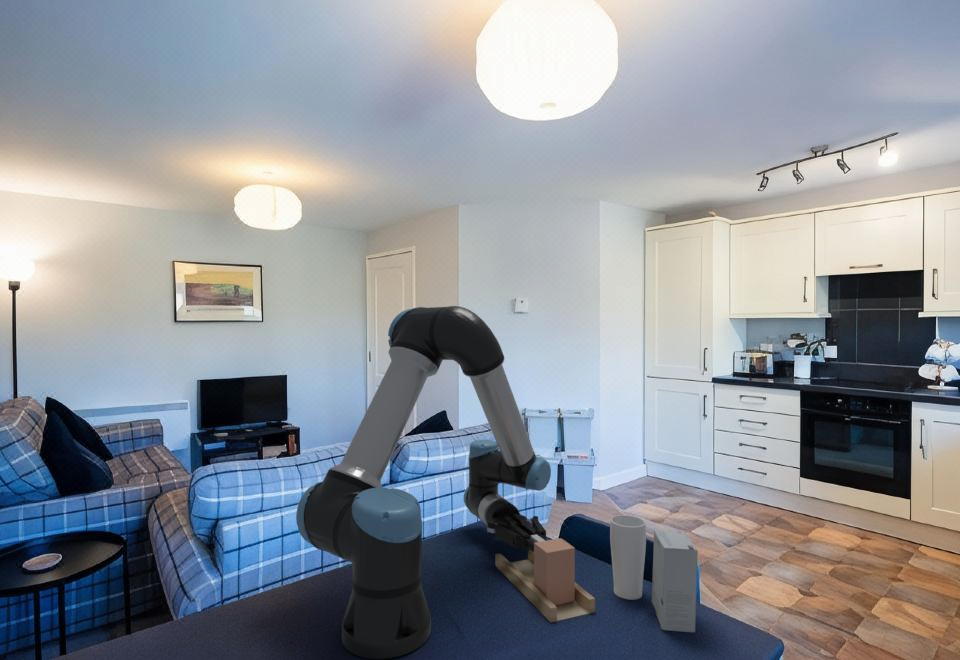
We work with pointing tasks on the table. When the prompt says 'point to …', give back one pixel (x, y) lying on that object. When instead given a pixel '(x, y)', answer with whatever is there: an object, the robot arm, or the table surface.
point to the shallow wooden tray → (524, 581)
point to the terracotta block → (555, 570)
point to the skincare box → (674, 580)
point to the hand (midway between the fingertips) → (549, 553)
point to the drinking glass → (628, 555)
